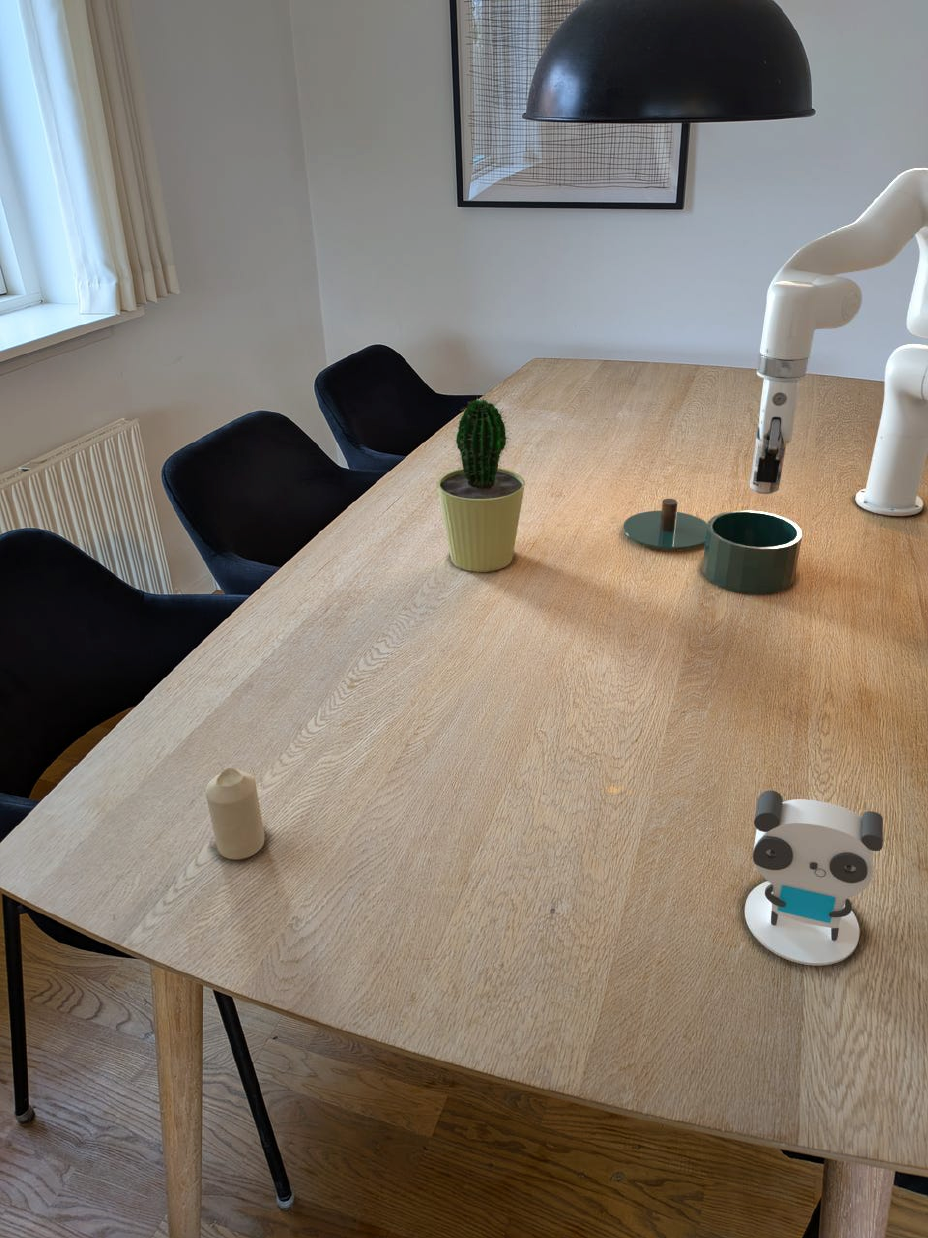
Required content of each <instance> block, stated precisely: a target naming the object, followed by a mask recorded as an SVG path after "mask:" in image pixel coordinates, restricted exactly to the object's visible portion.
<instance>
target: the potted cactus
mask: <svg viewBox="0 0 928 1238" xmlns="http://www.w3.org/2000/svg"><path fill="white" fill-rule="evenodd" d="M478 397H479V394H477V397H476V398H475V399H472V400H469V401H467V406H466V407H465V406H464V407H461V408H459V410H460V411H461V412H460V411H459V413H460V417H458V421H459V423H458V422H457V424H455V427H457V432H455V431H453V432H451V433H452V434H453V436H456V438H455V439H454V442H455V443H454V444H455V445H454V447H456V446H457V447H456V448H457V449H458V450H459V454H458V455H459V456H457V458H458V459H457V458H456V461H457V462H459V461H461V464H462V467H461V468H460V467H459V468H457V469H454V470H451V471H449V472H446V473H444V474H442V476H440V477H439V478H438V479H437V482H436V487H437V489H438V495H439V502H440V506H441V511H442V517H443V521H444V527H445V533H446V537H447V544H448V549H449V555H450V559H451V562H452V563H453V565H455V566H456V567H458V568H460V569H462V570H464V571H469V572H477V573H486V572H494V571H499V570H501V569H503V568H505V567H507V566H508V565H510V563H511V562H512V561H513V557H514V553H515V552H514V551H515V547H516V539H517V534H518V527H519V522H520V515H521V510H522V505H523V498H524V492H525V486H526V484H525V483H526V481H525V479H524V477H523V476H522V475H520V474H519V473H516V472H515V471H512V470H510V469H506V468H502V467H501V465H500V464H503V462H502V460H500V459H501V455H504V451H506V448H509V446H508V444H509V445H511V443H510V442H509V441H508V440H510V438H509V437H510V436H511V433H509V434H507V432H509V430H507V428H509V427H508V426H505V424H506V422H505V421H504V420H505V418H507V417H508V416H509V415H504V414H503V412H504V410H503V409H498V408H497V407H498V405H497V404H496V403H497V401H495V398H494V399H493V401H488V400H486V399H484V398H483V399H479V398H478ZM462 412H463V414H462ZM459 419H460V420H459ZM506 434H507V435H506ZM499 463H500V464H499Z"/></svg>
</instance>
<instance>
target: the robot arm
mask: <svg viewBox="0 0 928 1238" xmlns="http://www.w3.org/2000/svg"><path fill="white" fill-rule="evenodd" d="M914 237H915V239H916V241H917V245H918V251H919V259H918V265H917V269H916V274H915V279H914V282H913V287H912V291H911V296H910V299H909V305H908V309H907V314H906V329H907V331H908V332H909V333H910V334H912V335H914V336H916V337H918V338H923V339H927V340H928V168H927V167H920V168H919V167H917V168H911V169H908V170H905V171H904V172H902V173H900V174H899V175H898V176H896V177H895V178H894V179H893V180H892V182H891V183H890V184H889V185H888V186H887V187H886V188H885V189H884V190H883V191H882V192H881V193H880V195H879V196H878V197H876V198H875V200H874V201H873V203H871V204H870V205H869V206H868V207H867V209H866V210H865V211H864V212H863V213H862V214H861V215H860V217H859V218H858V219H857V220H856V221H855V222H853V223H851V224H849V225H848V224H847V225H845V226H842V227H840V228H838V229H836V230H834V231H832V232H829V233H826V234H825V235H823V236H820V237H818V238H815V239H813V240H812V241H810V242H808V243H806V244H805V245H803V246H801V248H799V249H798V250H797V251H796V252H795V253H793V255H791V257H790V258H789V259H788V260H787V261H786V262H785V263H784V264H783V265H782V267H781V268H780V269H779V270H778V272H776V274H775V276H773V278H772V281H771V282H770V284H769V287H768V288H767V293H766V304H765V310H764V311H765V312H764V317H763V318H764V319H763V325H762V333H761V340H760V345H759V346H760V347H759V354H758V361H757V369H756V375H757V376H758V377H759V378H762V379H763V382H762V389H761V397H760V404H759V405H760V407H759V422H758V424H759V430H760V439H761V440H762V441H763V447H762V454H761V457H759V463H758V470H757V476H756V481H758V482H768V483H775V482H776V481H777V476H778V469H779V463H780V459H779V456H780V449H781V443H782V442H781V441H782V437H783V441H785V442H786V444H790V443H791V442H792V439H793V431H794V425H795V424H794V423H795V417H796V412H797V411H796V409H797V403H798V395H799V387H800V385H799V384H800V381H803V380H805V379H807V377H808V372H809V365H810V359H811V353H812V347H813V340H814V335H815V331H816V330H824V329H825V330H826V329H832V330H833V329H838V328H842V327H844V326H846V325H848V324H849V323H851V322H852V321H853V320H854V319H855V318H856V317H857V316H858V314H859V311H860V310H861V307H862V304H863V293H862V290H861V288H860V286H859V285H858V284H857V283H856V281H853V280H852V279H850V278H848V277H843V276H838V275H841V274H848V273H855V272H861V271H866V270H871V269H875V268H878V267H882V266H885V265H887V264H889V263H891V262H892V261H893V260H895V259H896V258H897V256H899V254H900V253H901V252H902V251H903V249H904V248H905V247H906V246H907V245H908V244H909V243H910V241H911V240H912V239H913V238H914ZM883 394H884V395H883V404H882V410H881V416H880V419H879V425H878V428H877V429H878V430H877V434H876V440H875V444H874V448H873V454H872V458H871V463H870V467H869V472H868V476H867V482H866V487H865V488H863V489H860V490H859V491H857V493H856V494H855V498H854V499H855V502H856V504H857V505H858V506H859V507H861V508H862V509H864V510H866V511H869V512H871V513H875V514H878V515H883V516H889V517H890V516H891V517H906V516H908V517H909V516H912V515H913V516H914V515H916V514H919V513H920V512H921V511H922V510H923V508H924V501H923V499H921V497H920V496H918V492H919V488H920V484H921V481H922V476H923V472H924V468H925V464H926V460H927V455H928V345H927V344H919V343H909V344H904V345H901V346H899V347H897V348H896V349H895V350H893V352H892V353H891V354H890V356H889V357H888V359H887V361H886V365H885V370H884V393H883ZM771 421H772V424H771ZM767 436H770V440H769V439H766V437H767ZM778 437H779V440H778ZM767 444H769V447H766V445H767Z"/></svg>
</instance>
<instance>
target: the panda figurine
mask: <svg viewBox="0 0 928 1238" xmlns="http://www.w3.org/2000/svg"><path fill="white" fill-rule="evenodd" d="M753 824H754V827H755V828H756V831H755V832H756V833H755V838H754V844H753V850H752V860H753V863H754V865H755V867H756V868H757V870H758V872H759V874H760V875H761V877H763V878H764V879H765V880H766V881H764V882H762V883H760V884H758V885H757V886H756V887H754V888H753V889H752V890H751V892H749V894H748V896H747V898H746V901H745V905H744V917H745V922H746V924H747V926H748V928H749V931H750V932H751V933H752V935H753V937H754V938H755V939H756V940H757V941H758V942H759V943H760V944H761V945H762V946H763V947H765V948H766V949H767V950H768V951H770V952H772V953H773V954H775V955H776V956H779V957H780V958H783V959H785V960H787V961H790V962H793V963H796V964H800V965H804V966H805V965H806V966H814V967H815V966H817V967H822V966H829V965H833V964H834V965H835V964H837V963H840V962H842V961H844V960H846V959H847V958H848V957H850V956H851V955H852V954H853V952H854V951H855V950H856V948H857V946H858V943H859V939H860V926H859V921H858V919H857V917H856V915H855V913H854V911H853V909H852V908H853V906H852V902H851V900H850V899H851V898H854V897H856V896H858V895H860V894H861V893H863V892H864V891H865V890H866V889H867V888H868V887H869V885H870V884H871V882H872V881H873V880H872V879H873V877H874V876H873V875H874V852H880V851H882V849H883V846H884V818H883V816H882V815H881V814H880V813H879V812H876V811H869V810H868V811H865V812H862V814H861V815H860V814H858V813H857V812H855V811H853V810H851V809H849V808H846V807H844V806H841V805H838V804H835V803H830V802H827V801H823V800H815V799H807V798H806V799H804V798H796V799H794V798H793V799H789V800H785V801H784V798H783V796H782V795H781V794H780V793H779V792H778V791H776V790H765V791H763V792H762V793H760V795H759V796H758V797H757V802H756V807H755V813H754V819H753Z"/></svg>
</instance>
